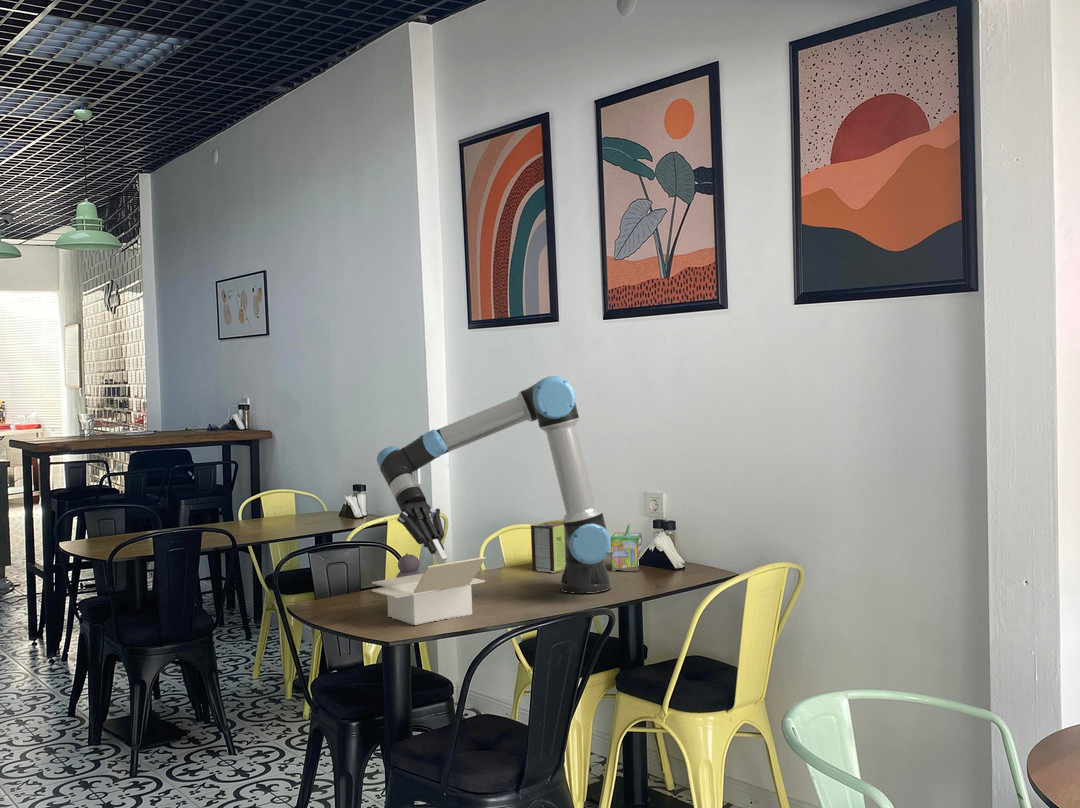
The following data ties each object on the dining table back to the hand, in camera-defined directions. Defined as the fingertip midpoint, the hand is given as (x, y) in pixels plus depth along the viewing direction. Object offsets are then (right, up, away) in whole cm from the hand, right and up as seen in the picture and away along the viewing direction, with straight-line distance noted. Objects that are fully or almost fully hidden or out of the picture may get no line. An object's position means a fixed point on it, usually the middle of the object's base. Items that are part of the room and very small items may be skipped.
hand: (443, 561), depth 254 cm
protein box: (+32, -14, +70) cm, 78 cm away
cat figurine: (-14, -16, +37) cm, 42 cm away
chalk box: (+54, -13, +64) cm, 85 cm away
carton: (-7, -16, +10) cm, 20 cm away
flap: (+2, -3, -1) cm, 4 cm away
